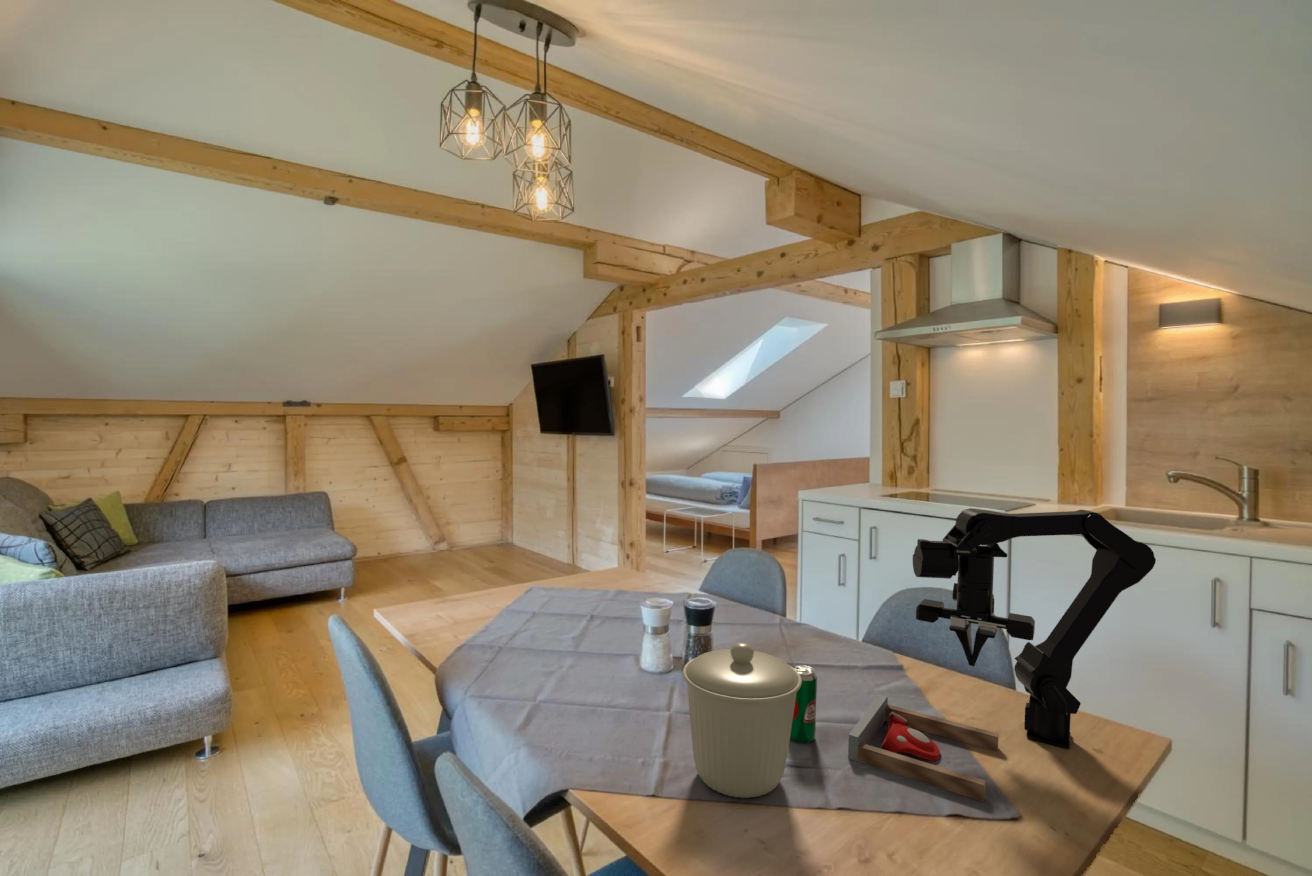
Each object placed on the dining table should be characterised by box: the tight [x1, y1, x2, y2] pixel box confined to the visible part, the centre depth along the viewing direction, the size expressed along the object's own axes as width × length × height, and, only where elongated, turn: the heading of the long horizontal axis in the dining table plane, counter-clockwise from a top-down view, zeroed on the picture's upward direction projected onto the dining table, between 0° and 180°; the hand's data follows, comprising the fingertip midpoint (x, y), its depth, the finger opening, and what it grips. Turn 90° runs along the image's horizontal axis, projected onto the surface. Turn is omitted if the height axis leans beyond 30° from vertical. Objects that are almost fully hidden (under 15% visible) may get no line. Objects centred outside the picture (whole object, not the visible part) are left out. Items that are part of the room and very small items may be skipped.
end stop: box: [847, 694, 889, 762], centre depth 111 cm, size 2×19×4 cm, turn 146°
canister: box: [682, 641, 802, 799], centre depth 97 cm, size 18×18×21 cm
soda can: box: [790, 664, 818, 744], centre depth 110 cm, size 5×5×12 cm
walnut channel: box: [856, 704, 1000, 803], centre depth 106 cm, size 18×19×2 cm
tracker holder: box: [881, 712, 941, 762], centre depth 109 cm, size 12×4×10 cm
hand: (972, 665), depth 114 cm, fingers closed
